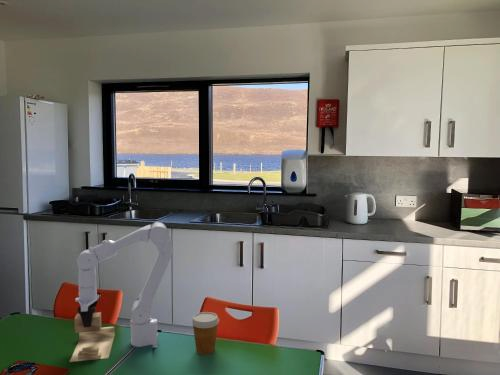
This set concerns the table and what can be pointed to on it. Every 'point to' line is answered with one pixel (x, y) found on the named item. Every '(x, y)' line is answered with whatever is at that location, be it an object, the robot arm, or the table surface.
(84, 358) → the offcut stack
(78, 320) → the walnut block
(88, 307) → the robot arm
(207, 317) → the disposable coffee cup
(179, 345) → the table surface
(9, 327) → the table surface
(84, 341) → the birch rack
